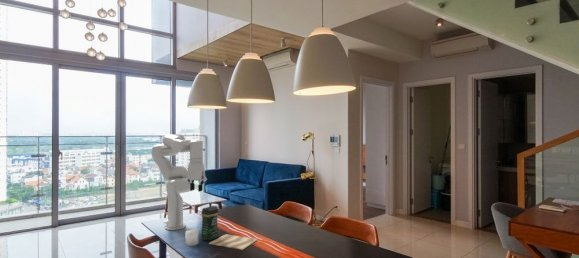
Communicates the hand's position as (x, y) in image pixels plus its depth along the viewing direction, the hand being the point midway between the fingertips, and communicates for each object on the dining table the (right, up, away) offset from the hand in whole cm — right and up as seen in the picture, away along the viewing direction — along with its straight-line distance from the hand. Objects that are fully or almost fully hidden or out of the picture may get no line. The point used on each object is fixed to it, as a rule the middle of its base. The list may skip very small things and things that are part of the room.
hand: (196, 190), depth 186 cm
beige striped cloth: (+24, -27, -11) cm, 38 cm away
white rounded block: (+1, -27, -13) cm, 30 cm away
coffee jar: (+9, -28, -4) cm, 29 cm away
